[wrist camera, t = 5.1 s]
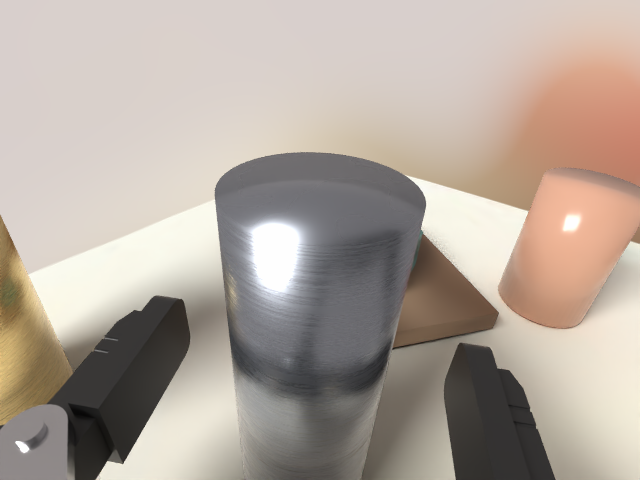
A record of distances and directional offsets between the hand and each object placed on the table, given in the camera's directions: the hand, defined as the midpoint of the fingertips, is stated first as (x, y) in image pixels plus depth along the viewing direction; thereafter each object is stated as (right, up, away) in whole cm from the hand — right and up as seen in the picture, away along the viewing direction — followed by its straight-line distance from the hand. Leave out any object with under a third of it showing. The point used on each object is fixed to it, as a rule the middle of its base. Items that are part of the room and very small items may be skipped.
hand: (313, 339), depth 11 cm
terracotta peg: (+14, -1, +13) cm, 20 cm away
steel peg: (0, -6, +4) cm, 7 cm away
